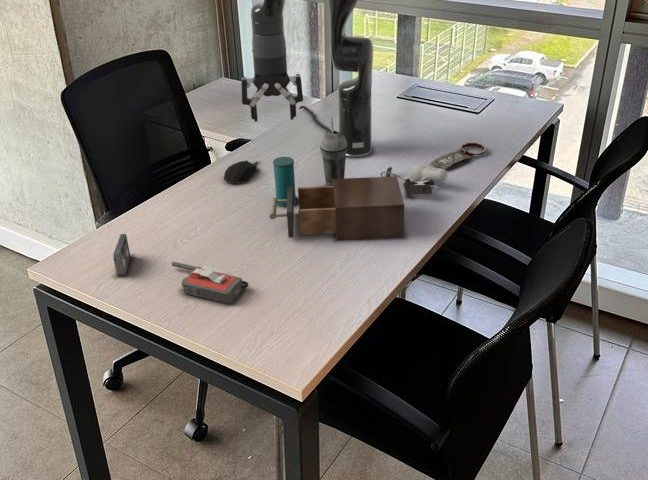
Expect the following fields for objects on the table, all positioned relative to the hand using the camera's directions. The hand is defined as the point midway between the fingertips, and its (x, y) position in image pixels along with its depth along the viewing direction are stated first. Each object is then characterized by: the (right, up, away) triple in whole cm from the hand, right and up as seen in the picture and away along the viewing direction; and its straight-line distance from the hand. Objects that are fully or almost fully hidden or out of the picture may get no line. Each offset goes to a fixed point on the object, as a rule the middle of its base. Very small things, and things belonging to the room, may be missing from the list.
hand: (273, 119), depth 173 cm
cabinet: (+22, -25, +4) cm, 33 cm away
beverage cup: (+14, -14, +21) cm, 29 cm away
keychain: (+50, -5, +35) cm, 61 cm away
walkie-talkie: (-14, -39, -17) cm, 45 cm away
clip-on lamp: (+35, -14, +20) cm, 43 cm away
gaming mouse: (-11, -10, +29) cm, 33 cm away
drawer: (+8, -24, +3) cm, 26 cm away
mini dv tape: (-33, -35, -10) cm, 49 cm away
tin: (+2, -19, +14) cm, 24 cm away
